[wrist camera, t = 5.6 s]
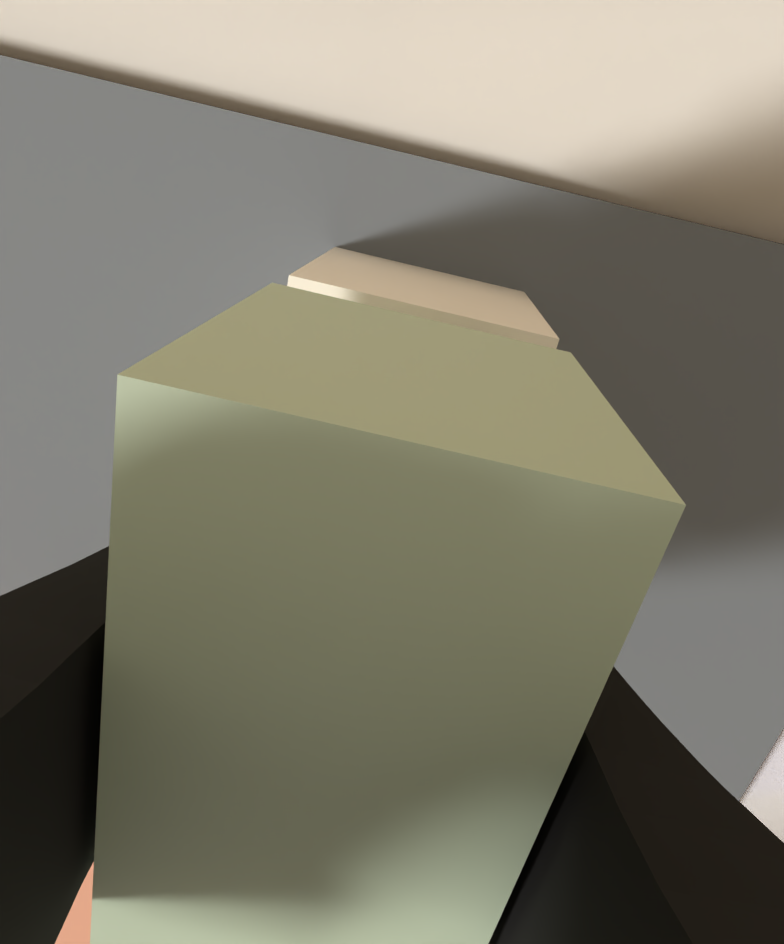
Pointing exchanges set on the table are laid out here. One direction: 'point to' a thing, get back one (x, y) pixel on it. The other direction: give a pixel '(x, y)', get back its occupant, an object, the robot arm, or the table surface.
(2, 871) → the robot arm
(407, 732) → the green brick
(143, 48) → the table surface
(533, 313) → the cream brick
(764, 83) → the table surface
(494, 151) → the table surface
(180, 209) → the mat
